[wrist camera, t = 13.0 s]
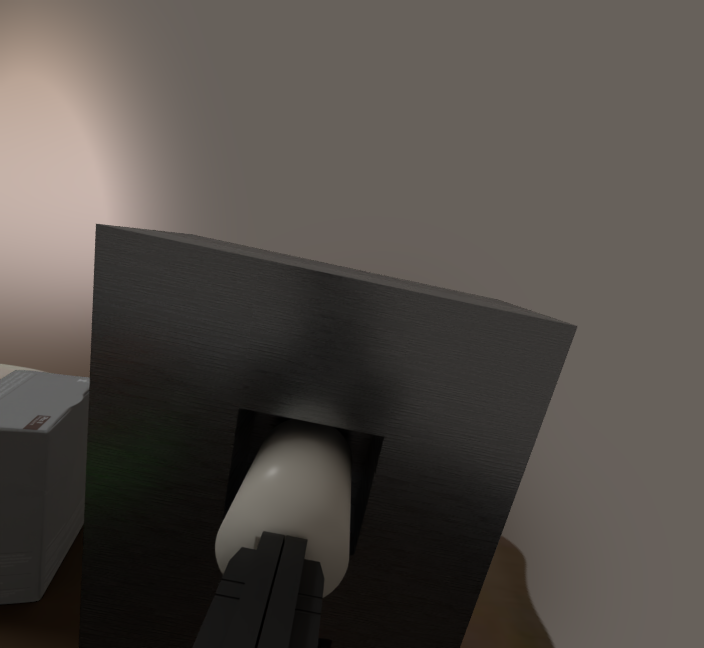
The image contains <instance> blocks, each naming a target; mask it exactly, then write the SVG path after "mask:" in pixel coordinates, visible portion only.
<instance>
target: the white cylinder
mask: <svg viewBox="0 0 704 648" xmlns="http://www.w3.org/2000/svg"><path fill="white" fill-rule="evenodd" d="M351 475H352V455H351V451H350V447H349V445H348V443H347V441H346V439H345V438H344V437H343V435H342V434H341V433H340V432H339V431H338V430H337V429H336V428H334V427H333V426H328V425H323V424H318V423H313V422H308V421H303V420H298V419H290V420H287V421H285V422H283V423H281V424H279V425H277V426H276V427H274V428H273V429H272V430H271V431H270V432H269V433H268V435H267V436H266V437H265V439H264V441H263V443H262V445H261V447H260V449H259V451H258V453H257V455H256V457H255V459H254V461H253V463H252V465H251V467H250V469H249V471H248V473H247V475H246V477H245V479H244V481H243V483H242V485H241V487H240V489H239V491H238V493H237V494H236V496H235V498H234V500H233V502H232V504H231V506H230V508H229V510H228V512H227V514H226V516H225V518H224V520H223V522H222V524H221V526H220V528H219V531H218V533H217V537H216V542H215V554H216V559H217V563H218V566H219V568H220V570H221V572H222V574H224V572H225V569H226V567H227V565H228V562H229V560H230V559H231V558H232V557H233V556H234V555H235V554H236V553H237V552H238V551H239V550H240V548H241V547H245V548H250V549H255V550H257V547H258V544H259V541H260V538H261V535H262V533H263V531H266V532H271V533H276V534H282V535H285V537H284V542H283V547H284V543H285V539H286V536H292V537H298V538H303V539H308V541H307V547H306V552H305V558H304V559H308V560H313V561H318V562H320V564H321V568H322V571H323V575H324V578H325V580H324V590H323V598H324V597H325V596H327V595H328V594H330V593H331V592H332V591H333V590H334V589H335V588H336V587H337V586H338V585H339V583H340V582H341V581H342V579H343V577H344V575H345V573H346V570H347V567H348V562H349V543H350V509H351ZM283 547H282V551H283ZM281 554H282V552H281ZM280 558H281V557H280Z"/></svg>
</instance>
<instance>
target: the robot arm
mask: <svg viewBox="0 0 704 648" xmlns="http://www.w3.org/2000/svg"><path fill="white" fill-rule="evenodd" d="M284 537H285V535H282V534H276V533H271V532H266V531H263V533H262V535H261V538H260V541H259V544H258V547H257V550H255V549H250V548H245V547H241V548H240V550H239V551H238V552H237V553H236V554H235V555H234V556H233V557H232V558H231V559H230V560H229V562H228V565H227V567H226V569H225V572H224V574H223V576H222V579H221V582H220V583H219V586H218V588H217V591H216V593H215V596H214V598H213V600H212V602H211V605H210V607H209V610H208V612H207V614H206V617H205V619H204V621H203V624H202V626H201V628H200V631H199V633H198V636H197V638H196V640H195V643H194V645H193V647H192V648H317V646H318V637H319V627H320V618H321V617H320V616H321V609H322V598H323V590H324V580H325V578H324V575H323V571H322V568H321V564H320V562H318V561H313V560H308V559H304V558H305V552H306V547H307V541H308V539H303V538H298V537H292V536H286V539H285V543H284V547H283V542H284ZM282 547H283V551H282ZM281 552H282V554H281ZM280 557H281V558H280Z"/></svg>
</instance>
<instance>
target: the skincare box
mask: <svg viewBox="0 0 704 648" xmlns="http://www.w3.org/2000/svg"><path fill="white" fill-rule="evenodd" d="M89 385H90V378H87V377H78V376H69V375H60V374H53V373H45V372H37V371H26V370H15V371H13V372H12V373H10V374H8V375H7V376H5V377H4V378H2V379H0V604H12V603H23V602H34V601H38V600H40V599H41V598H42V596H43V594H44V592H45V591H46V589H47V587H48V585H49V584H50V582H51V580H52V579H53V577H54V575H55V573H56V571H57V570H58V568H59V566H60V564H61V563H62V561H63V559H64V557H65V556H66V554H67V552H68V551H69V549H70V547H71V545H72V544H73V542H74V540H75V538H76V536H77V535H78V533H79V531H80V529H81V528H82V526H83V524H84V508H85V483H86V459H87V434H88V410H89Z"/></svg>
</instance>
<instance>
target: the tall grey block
mask: <svg viewBox="0 0 704 648" xmlns="http://www.w3.org/2000/svg"><path fill="white" fill-rule="evenodd" d="M93 288H94V290H93V312H92V313H93V314H92V338H91V362H90V385H89V410H88V434H87V459H86V483H85V508H84V532H83V557H82V581H81V606H80V630H79V648H192V647H193V645H194V643H195V640H196V638H197V636H198V633H199V631H200V628H201V626H202V624H203V621H204V619H205V617H206V614H207V612H208V610H209V607H210V605H211V602H212V600H213V598H214V596H215V593H216V591H217V588H218V586H219V583H220V582H221V579H222V576H223V574H222V572H221V570H220V568H219V566H218V563H217V559H216V554H215V542H216V537H217V533H218V531H219V528H220V526H221V524H222V522H223V520H224V518H225V516H226V514H227V512H228V510H229V508H230V506H231V504H232V502H233V500H234V498H235V496H236V494H237V493H238V491H239V489H240V487H241V485H242V483H243V481H244V479H245V477H246V475H247V473H248V471H249V469H250V467H251V465H252V463H253V461H254V459H255V457H256V455H257V453H258V451H259V449H260V447H261V445H262V443H263V441H264V439H265V437H266V436H267V435H268V433H269V432H270V431H271V430H272V429H273V428H274V427H276V426H277V425H279V424H281V423H283V422H285V421H287V420H290V419H298V420H303V421H308V422H313V423H318V424H323V425H328V426H333V427H334V428H336V429H337V430H338V431H339V432H340V433H341V434H342V435H343V437H344V438H345V439H346V441H347V443H348V445H349V447H350V451H351V455H352V475H351V509H350V543H349V562H348V567H347V570H346V573H345V575H344V577H343V579H342V581H341V582H340V583H339V585H338V586H337V587H336V588H335V589H334V590H333V591H332V592H331V593H330V594H328V595H327V596H325V597H324V598H322V609H321V616H320V617H321V618H320V627H319V637H318V646H317V648H460V646H461V643H462V640H463V637H464V635H465V632H466V629H467V627H468V624H469V621H470V618H471V616H472V613H473V610H474V607H475V605H476V602H477V599H478V597H479V594H480V591H481V588H482V586H483V583H484V580H485V577H486V575H487V572H488V569H489V567H490V564H491V561H492V558H493V556H494V553H495V550H496V547H497V545H498V542H499V539H500V536H501V534H502V531H503V528H504V526H505V523H506V520H507V517H508V515H509V512H510V509H511V506H512V503H513V501H514V498H515V495H516V493H517V490H518V487H519V485H520V482H521V479H522V476H523V474H524V471H525V468H526V465H527V463H528V460H529V457H530V454H531V452H532V449H533V446H534V444H535V441H536V438H537V435H538V433H539V430H540V427H541V425H542V422H543V419H544V416H545V414H546V411H547V408H548V405H549V403H550V400H551V397H552V395H553V392H554V389H555V386H556V384H557V381H558V378H559V375H560V373H561V370H562V367H563V364H564V362H565V359H566V356H567V353H568V351H569V348H570V345H571V343H572V340H573V337H574V334H575V332H576V329H577V326H575V325H572V324H569V323H566V322H563V321H560V320H557V319H554V318H551V317H548V316H545V315H542V314H539V313H536V312H533V311H530V310H527V309H524V308H521V307H518V306H515V305H512V304H509V303H507V302H504V301H500V300H497V299H492V298H487V297H483V296H478V295H473V294H469V293H464V292H459V291H454V290H450V289H445V288H440V287H436V286H431V285H426V284H422V283H417V282H412V281H408V280H403V279H398V278H393V277H389V276H384V275H380V274H375V273H370V272H366V271H361V270H356V269H351V268H347V267H342V266H337V265H332V264H328V263H323V262H319V261H314V260H309V259H304V258H300V257H295V256H290V255H286V254H281V253H277V252H272V251H267V250H262V249H257V248H253V247H248V246H244V245H239V244H234V243H230V242H224V241H220V240H215V239H211V238H206V237H201V236H197V235H192V234H183V233H174V232H165V231H156V230H147V229H138V228H129V227H120V226H111V225H102V224H96V239H95V264H94V287H93Z"/></svg>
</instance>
